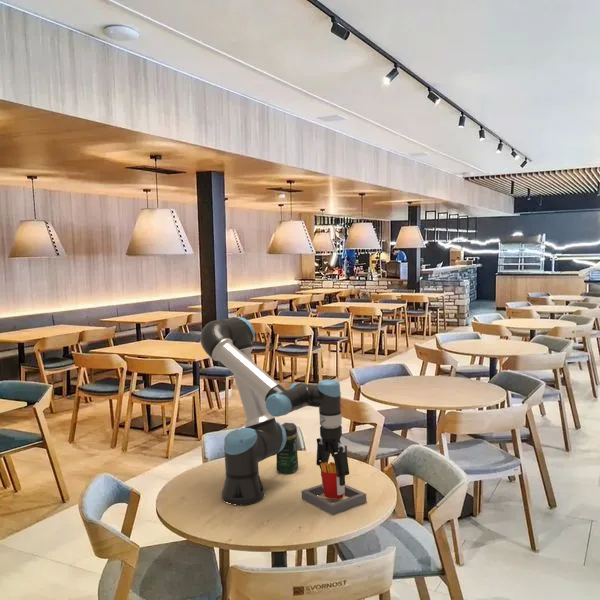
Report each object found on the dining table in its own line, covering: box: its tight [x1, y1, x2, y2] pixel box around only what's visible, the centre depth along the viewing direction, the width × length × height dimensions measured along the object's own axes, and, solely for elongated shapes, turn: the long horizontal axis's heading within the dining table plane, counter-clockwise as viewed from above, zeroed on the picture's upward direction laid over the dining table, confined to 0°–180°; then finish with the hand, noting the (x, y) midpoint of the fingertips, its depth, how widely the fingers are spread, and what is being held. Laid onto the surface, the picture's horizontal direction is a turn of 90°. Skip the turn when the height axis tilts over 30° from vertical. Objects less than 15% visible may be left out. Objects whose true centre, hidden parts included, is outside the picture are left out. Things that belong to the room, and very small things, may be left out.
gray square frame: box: [301, 483, 367, 516], centre depth 200 cm, size 17×15×3 cm
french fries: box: [320, 461, 345, 500], centre depth 200 cm, size 8×4×12 cm, turn 70°
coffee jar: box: [275, 422, 299, 475], centre depth 231 cm, size 10×8×19 cm
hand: (333, 490), depth 200 cm, fingers closed on french fries, 8 cm apart
